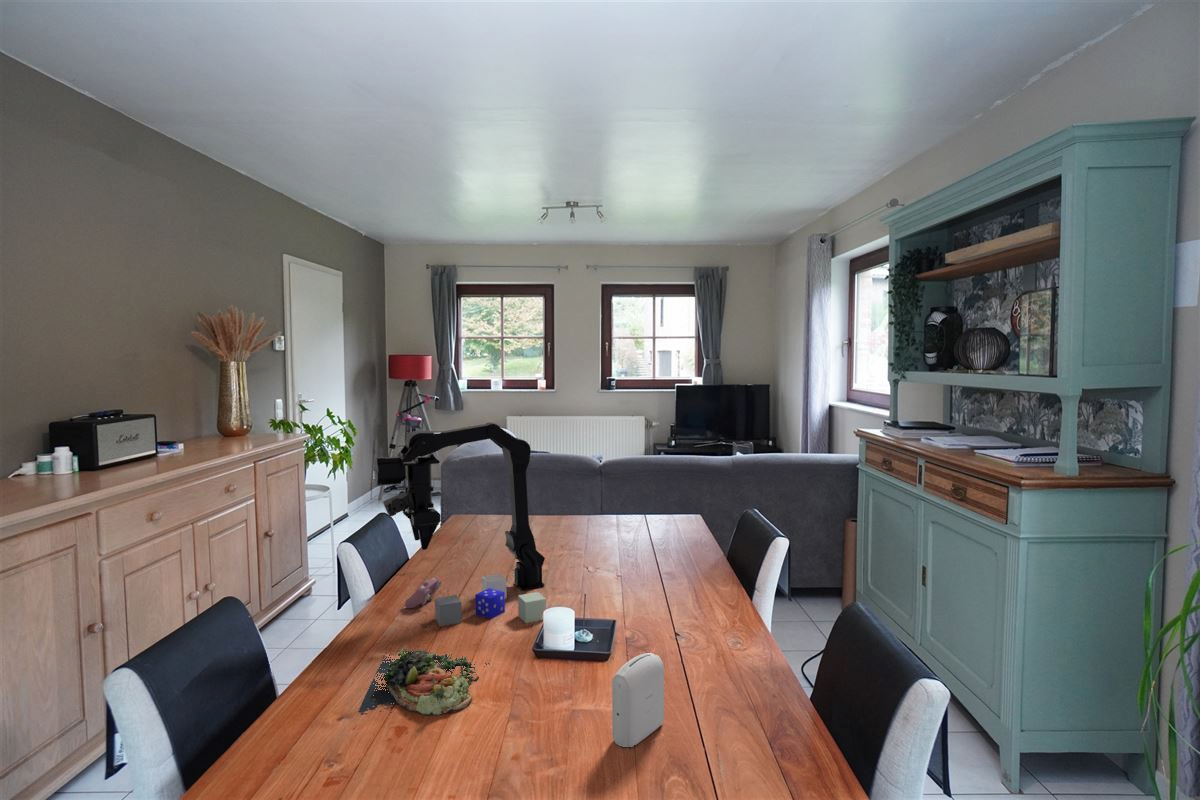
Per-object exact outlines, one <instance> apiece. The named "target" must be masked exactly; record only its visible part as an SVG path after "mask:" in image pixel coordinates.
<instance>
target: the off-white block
mask: <svg viewBox="0 0 1200 800" xmlns="http://www.w3.org/2000/svg"><path fill="white" fill-rule="evenodd" d="M488 588H490V589H494V590H499V591H503V592H505V599H507V596H508V595H507V578H505V577H504V575H503V574H502V573H495V574H489V575H488V574H487V575H482V576H481V592H482V591H484V590H486V589H488Z"/></svg>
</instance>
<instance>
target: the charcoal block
mask: <svg viewBox="0 0 1200 800" xmlns="http://www.w3.org/2000/svg"><path fill="white" fill-rule="evenodd" d="M462 604H463V603H462V600H461V599H460V598H459V597H458V595H457V594H454V595H453V594H452V595H446V596H440V597H435V598H434V619H435V621H436V622H438V623H437V624H438V626H439V627H440V626H441V627H445V626H444V625H447V626H451V625H450V624H452V625H455V623H458V624H461V623H460V622H462V623H463V618H462V615H463V613H462V611H463V610H462V608H463V607H462Z"/></svg>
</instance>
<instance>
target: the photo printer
mask: <svg viewBox="0 0 1200 800" xmlns="http://www.w3.org/2000/svg"><path fill="white" fill-rule="evenodd" d="M664 669H665V667H664V663H663V660H662V659H661V657H660V656H659V655H658V654H654V653H653V652H648V653H647V652H646V653H641V654H638V655H637V656H635V657H633V658H631V659H630V660H628V661H627V662H626V663H624V664H623V665H622V666H621V667H620V668H619V669H618V670H617V671H616V672H615V674H614V676H613V678H612V682H611V688H612V689H611V691H612V692H611V694H612V696H611V698H612V701H611V703H612V705H611V706H612V712H611V713H612V716H611V719H612V720H611V721H612V722H611V723H612V724H611V725H612V726H611V727H612V728H611V729H612V739H613V741H614V742H615V745H617V744H618V745H619V746H618V745H617V746H618V747H620V746H622V747H631V748H634V747H635V746H637V744H639V743H641V742H642V741H643V740H645V739H646V738H647V737H648V736H650V735H651V734H652V733H654V732H655V731H656V730H657V729H659V728H660V726H662V724H663V723H664V720H665V719H664V718H665V703H664V702H665V697H664V696H665V671H664ZM634 745H635V746H634ZM622 747H621V748H622Z"/></svg>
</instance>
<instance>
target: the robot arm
mask: <svg viewBox="0 0 1200 800" xmlns="http://www.w3.org/2000/svg"><path fill="white" fill-rule="evenodd" d="M485 440H490V441H491V442H493V443H494V444H495V445H496V446H498V447H499V448H500V449H501V452H502V455H503V460H504V463H505V466H506V468H507V470H508V475H509V478H508V479H509V491H510V493H509V494H510V510H511V513H510V514H511V527H510V530H509V531H508V530H505V531H504V533H505V534H504V535H505V539H506V540H505V547H507V548H508V552H510V553H511V554H512V555H513V556H514V557H515V560H517V561H516V562H515V568H514V581H513V582H514V584H515V585H516V586H517V587H518V588H519V589H520V590H522V591H524V590H525V591H526V590H529V589H530V590H531V589H536V588H542V587H545V583H544V582H543V566H544V563H545V559H546V557H545V556H544V555H543V554H542V553H540V552H539V551H538V550H537V545H536V542H535V537H534V534H533V532H532V530H531V529H532V528H531V527H530V520H529V519H530V518H529V502H528V483H527V481H528V480H527V471H528V469H529V465H530V461H531V452H532V450H531V449H532V448H531V444H529V443H528V441H526V440H524V439H520V438H517V437H515V436H513V435H512V434H511V433H509V432H507V431H506V430H505V429H503V428H502V427H501V426H500V425H498V424H496V423H495V422H486V423H484V424H477V425H471V426H466V427H459V428H454V429H448V430H413V431H411V432H409V433H408V434H407V436H406V438H405V441H404V445H403V447H402V448H401V450H400V451H399V452H398V454H397V455H396V456H392V457H391V456H389V457H386V456H385V457H383V456H377V457H375V465H374V466H375V469H374V471H373V472H374V483H375V487H382V486H392V485H401V484H402V482H404V481H405V480H407V481H406V482H407V485H406V486H405V487H404V492H402V493H399V494H397V495H395V496H392V497H389V498H388V499H386V500H383V501H382V504H383V506H384V508H385V511H386V513H387V515H388V516H389V517H394V516H395V515H397V514H398V513H401V512H402V514H403V515H404V516H405V517H406V518H408V519H409V523H410V526H411V531H412V535H413V537H414V541H420V545H421V546H420V547H421V550H422V551H425V550H427V549H428V548H429V545H430V543H431V541H432V538H433V536H434V534H435V532H436V530H437V527H438V526H439V525H440V523H441V522H442V521H441V514H440V512H438V511H437V509H435V505H434V503H433V495H432V494H433V492H434V486H433V485H432V465H437V464H438V465H439V464H440V460H439V459H437V458H436V456H435V455H434V453H436V452H439V451H440V450H443V449H444V448H447V447H452V446H457V445H463V444H468V443H469V444H470V443H475V442H479V441H485ZM406 470H407V471H406ZM406 473H407V474H406ZM406 477H407V478H406Z"/></svg>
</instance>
